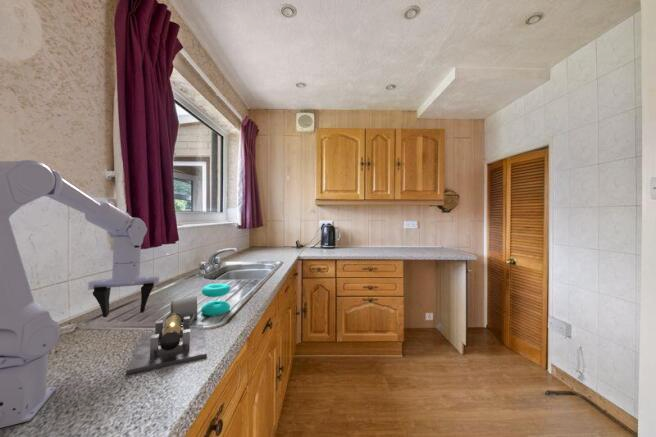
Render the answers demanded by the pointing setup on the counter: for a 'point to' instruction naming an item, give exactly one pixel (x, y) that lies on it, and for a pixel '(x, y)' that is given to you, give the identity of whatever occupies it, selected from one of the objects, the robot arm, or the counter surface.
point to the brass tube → (171, 332)
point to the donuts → (215, 306)
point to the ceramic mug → (185, 307)
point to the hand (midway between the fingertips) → (124, 313)
